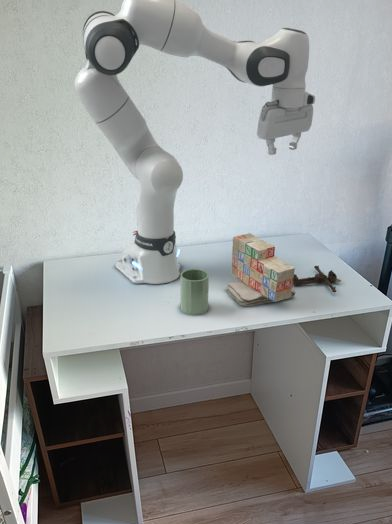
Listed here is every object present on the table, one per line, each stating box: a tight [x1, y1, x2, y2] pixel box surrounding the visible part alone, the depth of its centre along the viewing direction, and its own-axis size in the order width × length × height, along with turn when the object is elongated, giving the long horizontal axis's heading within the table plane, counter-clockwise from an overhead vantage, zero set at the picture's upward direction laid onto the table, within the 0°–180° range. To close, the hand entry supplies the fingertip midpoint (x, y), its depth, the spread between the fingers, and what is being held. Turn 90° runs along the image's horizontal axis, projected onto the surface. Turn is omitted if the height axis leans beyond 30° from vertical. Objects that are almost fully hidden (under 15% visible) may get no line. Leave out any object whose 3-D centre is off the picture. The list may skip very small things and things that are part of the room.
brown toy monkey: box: [293, 265, 342, 293], centre depth 158 cm, size 18×4×14 cm
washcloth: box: [226, 280, 296, 307], centre depth 151 cm, size 12×18×3 cm, turn 112°
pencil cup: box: [179, 268, 210, 316], centre depth 142 cm, size 8×8×10 cm
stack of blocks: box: [231, 232, 296, 303], centre depth 147 cm, size 21×6×12 cm, turn 32°
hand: (282, 151), depth 146 cm, fingers open, 8 cm apart
